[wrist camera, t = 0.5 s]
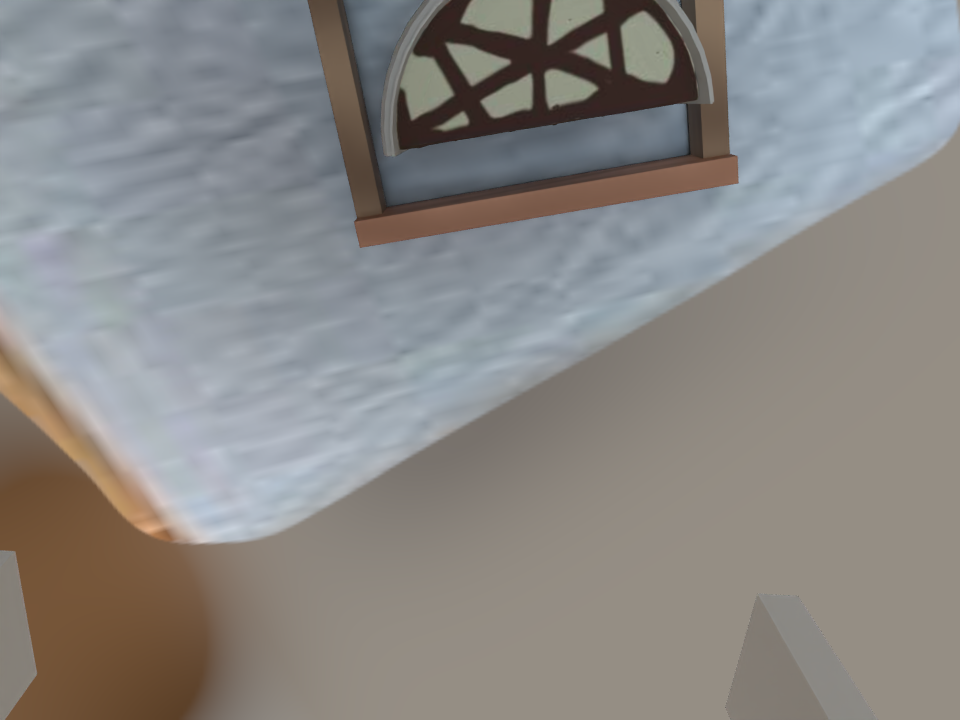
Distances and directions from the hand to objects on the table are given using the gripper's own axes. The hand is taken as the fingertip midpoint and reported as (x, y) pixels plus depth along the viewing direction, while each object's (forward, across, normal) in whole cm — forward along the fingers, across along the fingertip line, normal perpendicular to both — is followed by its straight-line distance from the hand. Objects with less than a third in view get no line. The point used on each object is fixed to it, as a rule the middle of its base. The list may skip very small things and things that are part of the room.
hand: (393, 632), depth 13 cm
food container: (+26, +3, +11) cm, 28 cm away
